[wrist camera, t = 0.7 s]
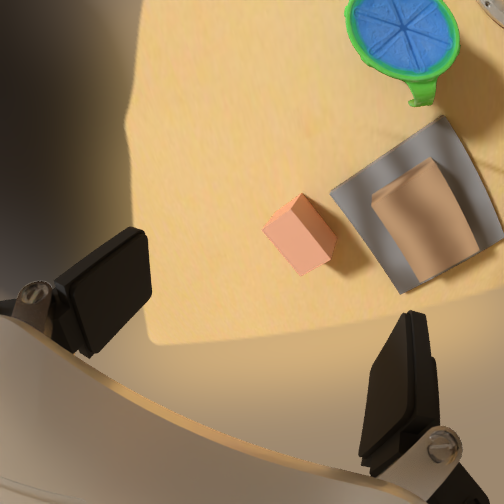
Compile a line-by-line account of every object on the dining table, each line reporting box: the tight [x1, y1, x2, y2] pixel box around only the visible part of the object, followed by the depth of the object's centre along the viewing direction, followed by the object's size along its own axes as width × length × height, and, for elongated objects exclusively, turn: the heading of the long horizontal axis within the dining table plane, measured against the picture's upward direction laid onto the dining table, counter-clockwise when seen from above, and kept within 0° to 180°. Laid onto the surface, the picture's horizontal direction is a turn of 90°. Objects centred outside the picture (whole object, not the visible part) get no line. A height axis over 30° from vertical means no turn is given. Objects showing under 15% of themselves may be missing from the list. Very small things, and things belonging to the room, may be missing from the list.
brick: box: [262, 193, 337, 276], centre depth 40 cm, size 5×8×6 cm, turn 44°
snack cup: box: [344, 0, 461, 107], centre depth 22 cm, size 16×11×10 cm
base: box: [330, 115, 504, 295], centre depth 33 cm, size 18×18×6 cm
